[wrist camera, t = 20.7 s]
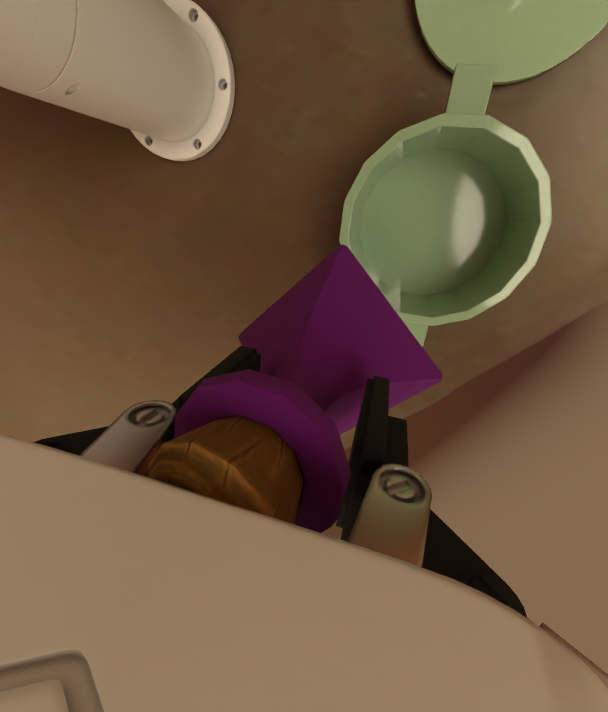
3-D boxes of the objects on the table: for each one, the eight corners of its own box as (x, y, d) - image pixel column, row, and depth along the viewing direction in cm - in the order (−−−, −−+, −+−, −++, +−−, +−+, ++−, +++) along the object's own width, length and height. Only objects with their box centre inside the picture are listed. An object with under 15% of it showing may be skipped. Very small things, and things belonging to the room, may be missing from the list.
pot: (341, 313, 36) (325, 339, 29) (373, 99, 28) (363, 57, 21) (474, 336, 34) (496, 370, 26) (550, 106, 26) (613, 60, 18)
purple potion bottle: (359, 240, 17) (-616, 290, 1) (444, 355, 17) (514, 1541, 2) (264, 322, 21) (-301, 603, 5) (336, 416, 21) (27, 968, 5)
